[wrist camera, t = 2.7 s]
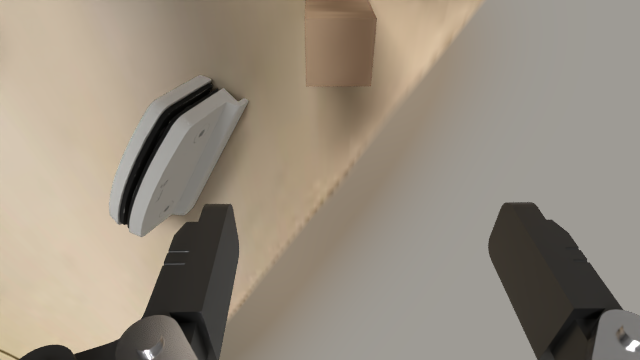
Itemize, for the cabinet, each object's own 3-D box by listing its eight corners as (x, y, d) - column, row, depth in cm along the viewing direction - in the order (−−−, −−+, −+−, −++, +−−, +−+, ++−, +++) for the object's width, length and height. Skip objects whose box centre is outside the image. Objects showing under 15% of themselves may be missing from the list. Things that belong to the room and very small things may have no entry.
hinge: (192, 209, 46) (134, 262, 38) (158, 186, 46) (93, 234, 38) (250, 97, 38) (192, 133, 29) (209, 68, 37) (139, 96, 29)
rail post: (307, 26, 34) (306, 86, 24) (306, -25, 31) (304, 18, 22) (354, 26, 34) (370, 86, 24) (357, -25, 31) (376, 18, 22)
